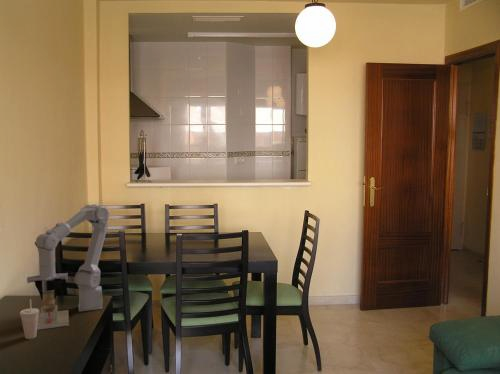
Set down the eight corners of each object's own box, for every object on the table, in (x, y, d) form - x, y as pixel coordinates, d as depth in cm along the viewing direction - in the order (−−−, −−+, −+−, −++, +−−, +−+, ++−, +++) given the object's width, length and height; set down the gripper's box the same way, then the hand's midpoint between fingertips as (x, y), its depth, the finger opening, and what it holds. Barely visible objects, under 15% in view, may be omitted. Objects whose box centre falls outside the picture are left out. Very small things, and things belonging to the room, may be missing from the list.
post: (55, 309, 184) (54, 290, 183) (54, 312, 180) (54, 293, 179) (43, 310, 182) (42, 291, 182) (43, 314, 178) (42, 294, 178)
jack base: (68, 313, 191) (68, 299, 190) (68, 325, 178) (68, 310, 177) (31, 318, 185) (30, 303, 185) (28, 331, 172) (28, 315, 172)
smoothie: (32, 341, 163) (30, 302, 162) (16, 339, 165) (15, 301, 163) (44, 334, 170) (42, 297, 168) (28, 332, 171) (27, 296, 170)
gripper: (25, 269, 173) (27, 304, 174) (67, 265, 178) (68, 299, 180) (27, 264, 180) (28, 298, 181) (67, 261, 185) (68, 294, 186)
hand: (48, 298), depth 181 cm, fingers closed on post, 4 cm apart
